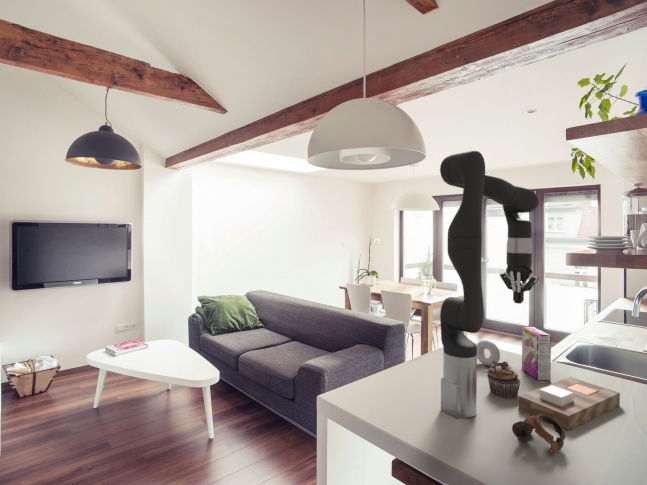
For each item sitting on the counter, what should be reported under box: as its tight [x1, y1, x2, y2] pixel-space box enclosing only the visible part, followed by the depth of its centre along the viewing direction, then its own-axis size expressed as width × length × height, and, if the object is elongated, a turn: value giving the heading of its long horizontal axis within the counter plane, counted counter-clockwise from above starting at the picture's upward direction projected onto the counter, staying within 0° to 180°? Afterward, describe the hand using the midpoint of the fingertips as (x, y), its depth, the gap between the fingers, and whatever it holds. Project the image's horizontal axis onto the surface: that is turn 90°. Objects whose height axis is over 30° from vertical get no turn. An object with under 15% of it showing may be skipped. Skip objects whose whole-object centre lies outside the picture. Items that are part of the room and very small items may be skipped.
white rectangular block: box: [540, 385, 573, 407], centre depth 108 cm, size 6×6×3 cm
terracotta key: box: [567, 384, 598, 396], centre depth 115 cm, size 6×6×3 cm
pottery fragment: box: [511, 414, 566, 456], centre depth 93 cm, size 12×9×8 cm
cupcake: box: [486, 361, 522, 400], centre depth 122 cm, size 10×10×10 cm
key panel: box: [518, 376, 621, 431], centre depth 112 cm, size 28×14×4 cm, turn 119°
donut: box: [476, 339, 501, 367], centre depth 147 cm, size 10×4×10 cm, turn 34°
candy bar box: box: [521, 326, 552, 382], centre depth 137 cm, size 11×5×16 cm, turn 179°
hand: (518, 303), depth 126 cm, fingers closed
